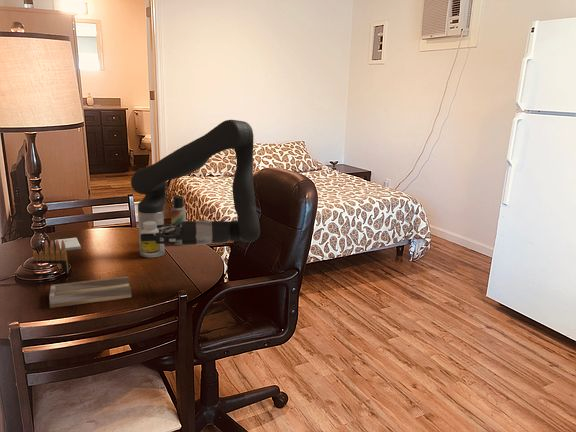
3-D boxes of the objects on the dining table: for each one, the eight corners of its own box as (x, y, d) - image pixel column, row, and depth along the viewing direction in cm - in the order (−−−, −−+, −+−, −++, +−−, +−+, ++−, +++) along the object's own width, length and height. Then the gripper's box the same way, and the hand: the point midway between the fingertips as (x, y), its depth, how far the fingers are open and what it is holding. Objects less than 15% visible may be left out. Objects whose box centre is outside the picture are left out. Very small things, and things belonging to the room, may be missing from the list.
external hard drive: (57, 252, 172) (54, 243, 183) (81, 250, 177) (77, 240, 187) (57, 248, 172) (54, 239, 182) (80, 246, 176) (76, 237, 186)
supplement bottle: (138, 252, 142) (137, 222, 140) (154, 248, 146) (153, 219, 143) (147, 256, 138) (145, 226, 136) (163, 253, 142) (162, 223, 140)
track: (52, 293, 137) (51, 284, 136) (128, 284, 146) (128, 275, 145) (50, 307, 128) (49, 298, 128) (131, 297, 137) (131, 288, 136)
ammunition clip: (69, 272, 153) (66, 239, 150) (67, 274, 152) (64, 240, 148) (36, 273, 152) (32, 239, 149) (33, 275, 150) (29, 240, 147)
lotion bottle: (178, 240, 191) (177, 194, 186) (189, 242, 189) (188, 196, 183) (169, 243, 187) (167, 196, 181) (179, 246, 184) (178, 198, 179)
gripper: (195, 215, 150) (142, 216, 146) (198, 227, 136) (139, 229, 132) (196, 236, 152) (143, 238, 148) (198, 251, 138) (140, 253, 134)
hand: (141, 234), depth 140 cm, fingers closed on supplement bottle, 5 cm apart
